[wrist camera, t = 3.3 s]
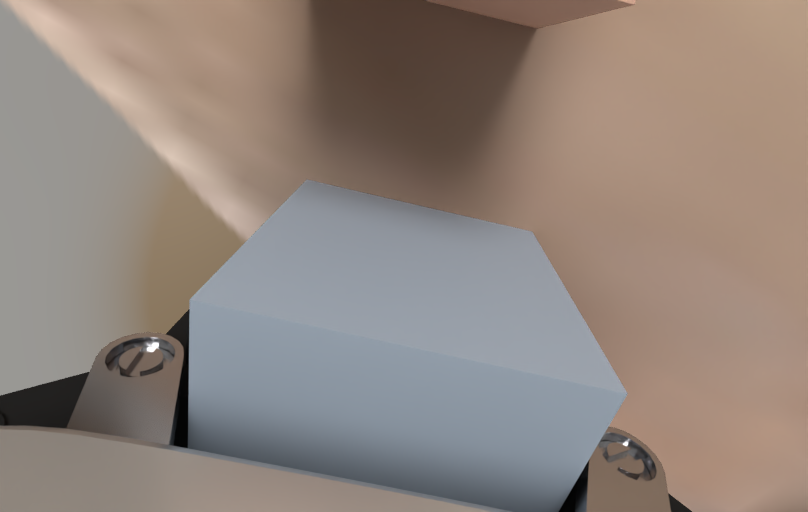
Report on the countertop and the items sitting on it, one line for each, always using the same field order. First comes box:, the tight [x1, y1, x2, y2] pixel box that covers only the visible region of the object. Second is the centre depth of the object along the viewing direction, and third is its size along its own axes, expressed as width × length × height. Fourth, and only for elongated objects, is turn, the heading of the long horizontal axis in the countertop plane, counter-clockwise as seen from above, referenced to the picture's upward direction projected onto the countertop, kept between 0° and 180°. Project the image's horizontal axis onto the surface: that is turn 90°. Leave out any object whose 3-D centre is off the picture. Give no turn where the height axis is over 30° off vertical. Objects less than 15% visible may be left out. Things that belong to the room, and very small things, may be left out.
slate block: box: [188, 180, 627, 512], centre depth 10 cm, size 6×6×6 cm
